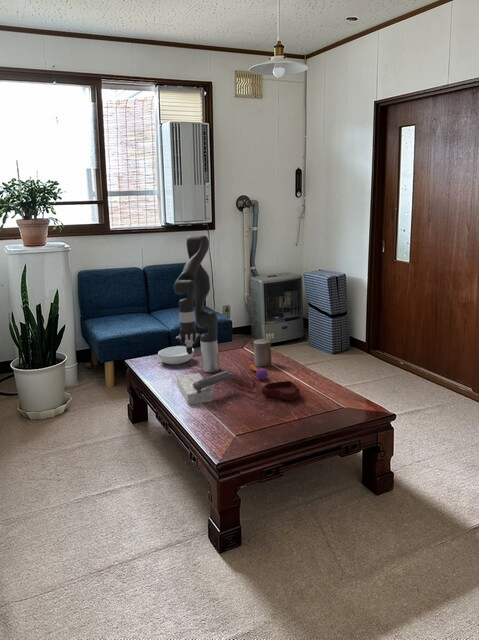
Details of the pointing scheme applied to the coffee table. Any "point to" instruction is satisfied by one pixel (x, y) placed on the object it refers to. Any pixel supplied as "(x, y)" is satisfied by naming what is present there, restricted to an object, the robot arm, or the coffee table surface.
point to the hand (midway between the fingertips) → (189, 353)
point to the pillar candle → (262, 352)
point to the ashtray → (281, 390)
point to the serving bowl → (175, 355)
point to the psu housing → (189, 392)
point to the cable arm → (212, 380)
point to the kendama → (259, 372)
